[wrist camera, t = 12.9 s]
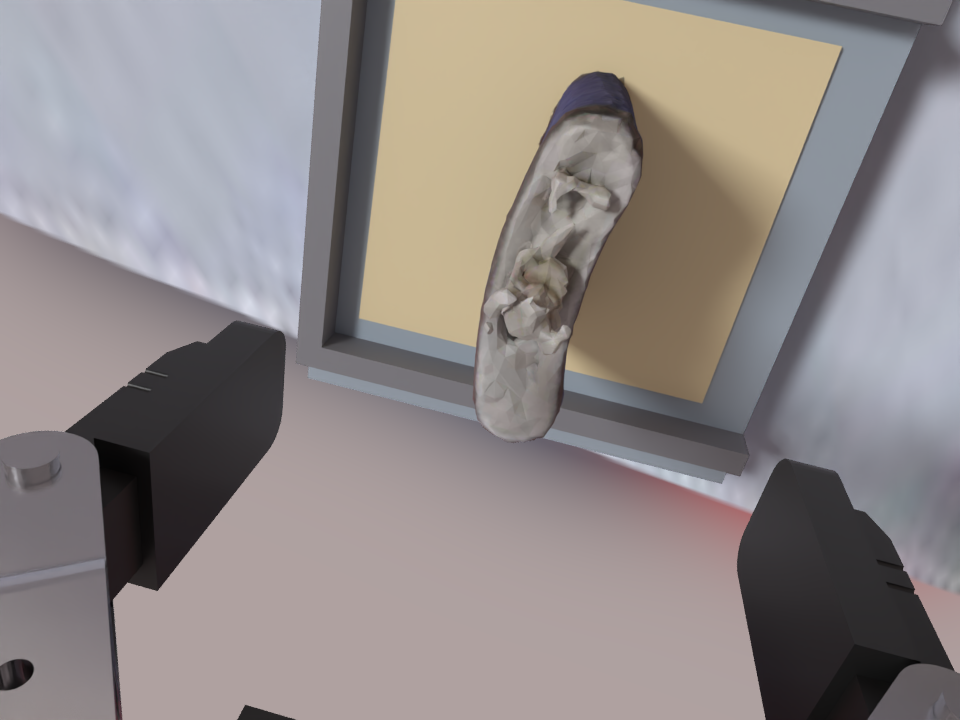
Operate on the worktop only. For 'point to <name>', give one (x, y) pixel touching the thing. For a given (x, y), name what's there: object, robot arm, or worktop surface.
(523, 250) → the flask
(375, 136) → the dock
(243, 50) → the worktop surface
